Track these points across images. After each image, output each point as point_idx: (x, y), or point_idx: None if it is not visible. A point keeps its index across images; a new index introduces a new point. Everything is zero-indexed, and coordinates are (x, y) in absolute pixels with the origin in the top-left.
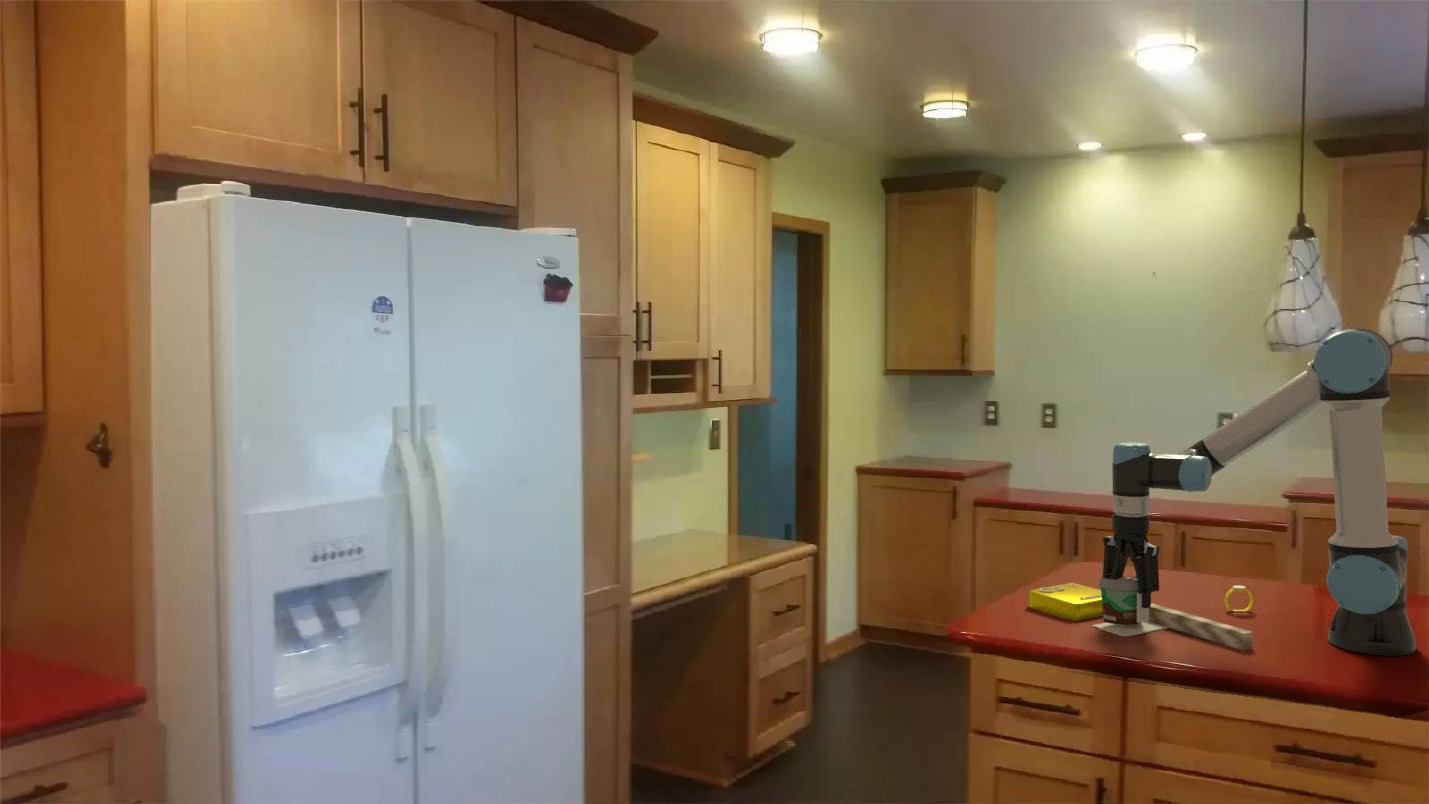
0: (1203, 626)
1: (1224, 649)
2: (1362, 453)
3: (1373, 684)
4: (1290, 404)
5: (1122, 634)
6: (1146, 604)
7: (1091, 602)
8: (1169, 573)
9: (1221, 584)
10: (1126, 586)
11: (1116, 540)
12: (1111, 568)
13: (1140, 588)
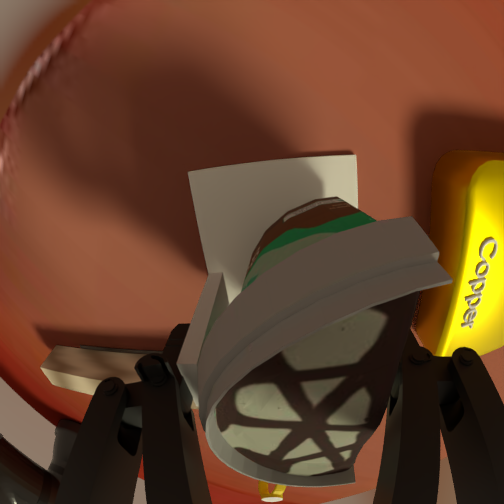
0: (119, 374)
1: (60, 326)
2: None
3: None
4: None
5: (202, 177)
6: (170, 338)
7: (458, 258)
8: (444, 455)
9: (377, 479)
10: (209, 353)
11: None
12: (458, 432)
13: (169, 390)
